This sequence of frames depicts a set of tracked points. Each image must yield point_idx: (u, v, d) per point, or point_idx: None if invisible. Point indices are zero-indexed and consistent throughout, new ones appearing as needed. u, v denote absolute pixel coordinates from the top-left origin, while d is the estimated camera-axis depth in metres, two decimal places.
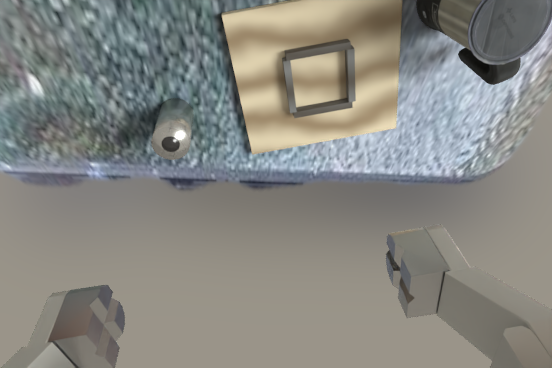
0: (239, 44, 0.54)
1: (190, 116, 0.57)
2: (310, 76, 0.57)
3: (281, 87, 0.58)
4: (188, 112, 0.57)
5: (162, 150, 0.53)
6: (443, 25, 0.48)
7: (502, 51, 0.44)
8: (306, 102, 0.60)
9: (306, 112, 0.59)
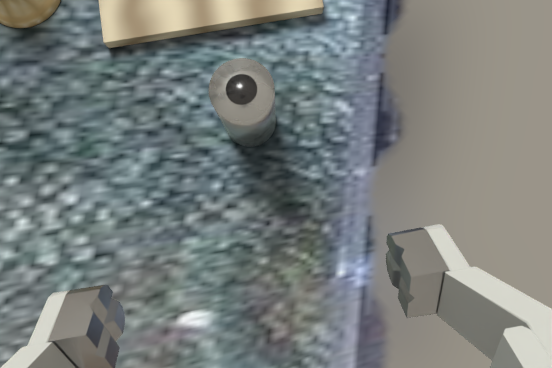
0: (142, 21, 0.39)
1: None
2: None
3: None
4: None
5: (253, 104, 0.30)
6: None
7: None
8: None
9: None
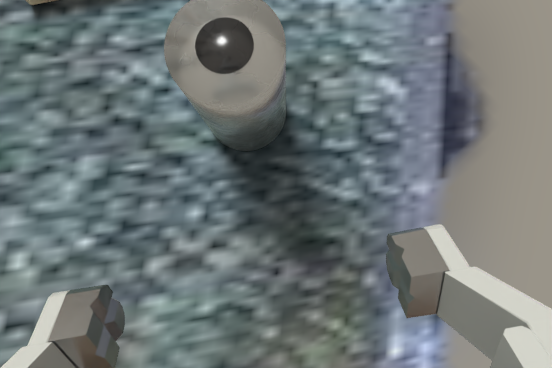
0: None
1: None
2: None
3: None
4: None
5: (246, 73, 0.16)
6: None
7: None
8: None
9: None
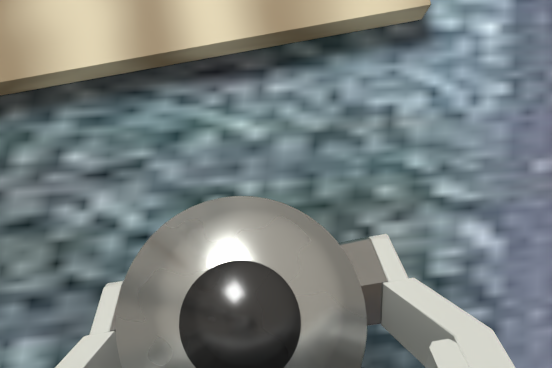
0: (15, 45, 0.17)
1: None
2: None
3: None
4: None
5: None
6: None
7: None
8: None
9: None
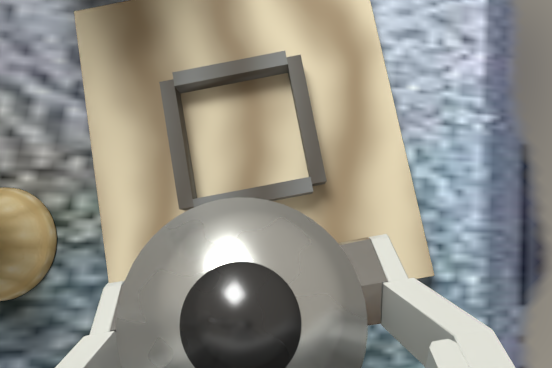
0: None
1: None
2: (239, 153, 0.28)
3: None
4: None
5: None
6: None
7: None
8: (297, 155, 0.28)
9: (311, 153, 0.26)
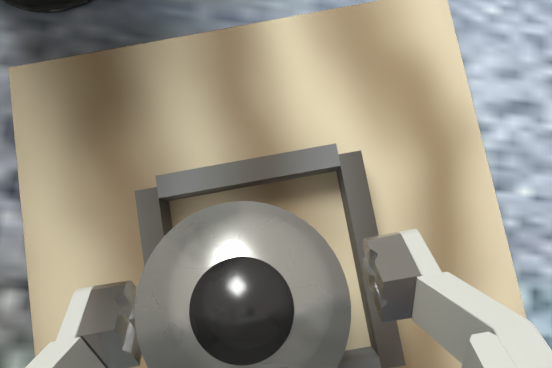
0: None
1: None
2: None
3: None
4: None
5: (282, 364, 0.09)
6: None
7: None
8: (352, 305, 0.18)
9: None
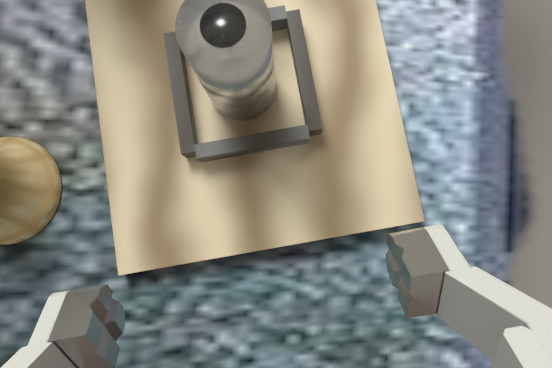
0: (172, 244, 0.28)
1: None
2: None
3: (260, 160, 0.29)
4: None
5: (240, 47, 0.20)
6: None
7: None
8: (295, 107, 0.29)
9: (308, 103, 0.27)
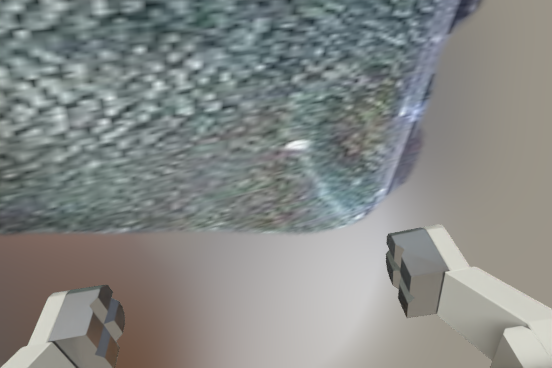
0: None
1: None
2: None
3: None
4: None
5: None
6: None
7: None
8: None
9: None
